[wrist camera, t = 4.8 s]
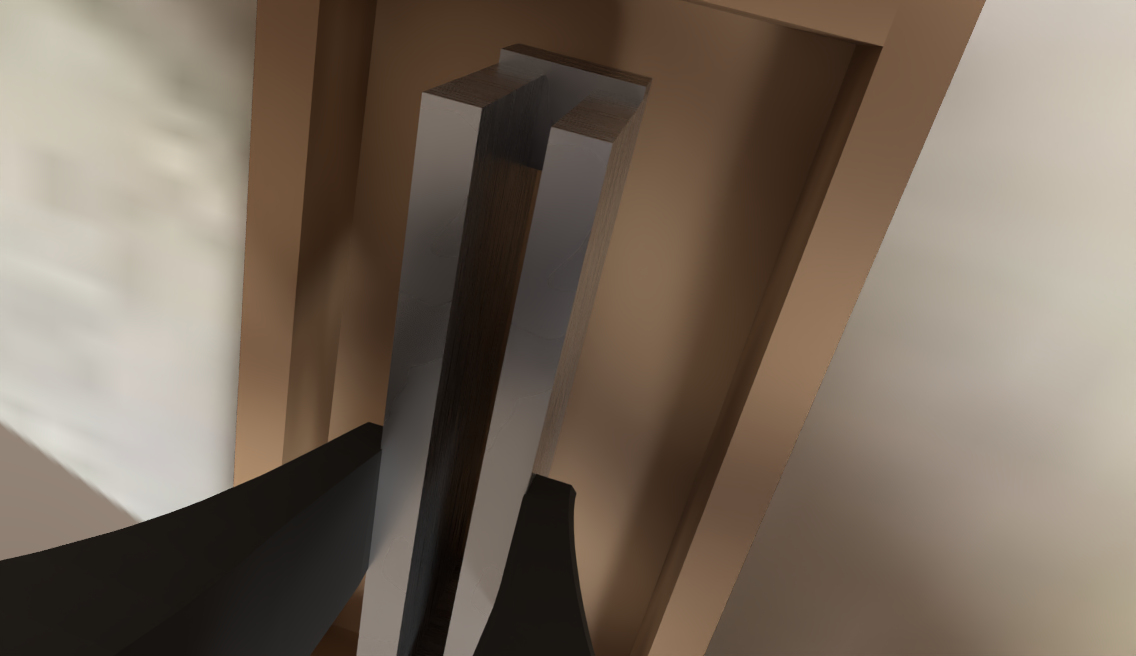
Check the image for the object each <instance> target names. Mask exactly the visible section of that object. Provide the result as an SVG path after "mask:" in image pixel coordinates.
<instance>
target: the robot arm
mask: <svg viewBox="0 0 1136 656" xmlns="http://www.w3.org/2000/svg"><path fill="white" fill-rule="evenodd" d="M382 433H383V426H381V425H378V424H374V423H371V422H367V423H365V424H363V425H361V426H359V427H357V428H355V429H353V430H351V431H349V432H347V433H345V434H343V435H341V436H339V437H337V438H335V439H333V440H331V441H329V442H327V443H325V444H323V445H321V446H319V447H317V448H315V449H313V450H312V451H310V452H308V453H306V454H304V455H302V456H300V457H298V458H296V459H294V460H292V461H289V462H287V463H285V464H283V465H281V466H279V467H277V468H275V469H273V470H271V471H269V472H267V473H265V474H263V475H261V476H258V477H256V478H254V479H251V480H249V481H247V482H244V483H242V484H240V485H237V486H235V487H233V488H231V489H228V490H226V491H224V492H221V493H219V494H217V495H214V496H212V497H210V498H207V499H205V500H203V501H200V502H197V503H195V504H192V505H190V506H187V507H184V508H182V509H179V510H176V511H174V512H171V513H168V514H165V515H162V516H159V517H156V518H153V519H150V520H147V521H145V522H142V523H139V524H136V525H133V526H130V527H126V528H123V529H120V530H117V531H114V532H110V533H106V534H103V535H99V536H96V537H92V538H88V539H84V540H81V541H77V542H74V543H70V544H66V545H62V546H59V547H55V548H52V549H48V550H44V551H40V552H36V553H32V554H28V555H23V556H19V557H15V558H10V559H6V560H1V561H0V656H310V655H311V653H312V652H313V651H314V649H315V648H316V646H317V645H318V643H319V642H320V641H321V639H322V638H323V636H324V635H325V634H326V632H327V631H328V629H329V628H330V626H331V625H332V624H333V622H334V621H335V619H336V618H337V616H338V615H339V614H340V612H341V611H342V609H343V608H344V606H345V605H346V603H347V602H348V601H349V599H350V598H351V596H352V595H353V593H354V592H355V590H356V589H357V587H358V586H359V584H360V583H361V581H362V579H363V577H364V575H365V574H366V572H367V570H368V566H369V558H370V549H371V541H372V533H373V524H374V516H375V507H376V499H377V490H378V482H379V473H380V465H381V456H382V449H381V441H382ZM576 494H577V493H576V491H575V490H574V488H573V486H572V485H570V484H567V483H564V482H561V481H558V480H554V479H551V478H548V477H545V476H542V475H538V474H536V475H535V477H534V479H533V481H532V483H531V485H530V487H529V489H528V491H527V493H526V494H524V496H523V498H522V502H521V506H520V510H519V514H518V518H517V522H516V526H515V529H514V533H513V537H512V541H511V545H510V549H509V553H508V557H507V561H506V564H505V568H504V572H503V576H502V580H501V584H500V587H499V590H498V593H497V597H496V600H495V603H494V606H493V609H492V611H491V613H490V616H489V618H488V620H487V623H486V625H485V628H484V630H483V632H482V635H481V637H480V639H479V642H478V644H477V646H476V649H475V651H474V654H473V656H595V653H594V649H593V645H592V641H591V637H590V633H589V629H588V624H587V619H586V615H585V610H584V605H583V600H582V594H581V589H580V581H579V574H578V567H577V560H576V550H575V537H574V506H575V498H576Z"/></svg>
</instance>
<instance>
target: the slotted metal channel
mask: <svg viewBox="0 0 1136 656" xmlns="http://www.w3.org/2000/svg"><path fill="white" fill-rule="evenodd" d="M652 79H653V78H651V77H647V76H643V75H639V74H635V73H632V72H628V71H624V70H620V69H616V68H612V67H609V66H605V65H601V64H597V63H593V62H589V61H586V60H582V59H578V58H574V57H570V56H567V55H563V54H559V53H555V52H551V51H547V50H544V49H540V48H536V47H532V46H528V45H525V44H521V43H517V44H514V45H511V46H508V47H505V48H502V49H501V52H500V58H499V63H497V64H494V65H492V66H489V67H486V68H484V69H481V70H479V71H476V72H473V73H471V74H468V75H466V76H463V77H460V78H458V79H455V80H452V81H450V82H447V83H445V84H442V85H439V86H437V87H434V88H432V89H429V90H426V91H424V92H422V98H421V106H420V115H419V124H418V132H417V141H416V149H415V158H414V166H413V175H412V184H411V192H410V201H409V209H408V218H407V227H406V235H405V244H404V252H403V261H402V270H401V278H400V287H399V295H398V304H397V313H396V321H395V330H394V338H393V347H392V355H391V364H390V373H389V381H388V390H387V398H386V407H385V416H384V424H383V433H382V441H381V449H382V456H381V465H380V473H379V482H378V490H377V499H376V507H375V516H374V524H373V533H372V541H371V549H370V558H369V566H368V570H367V572H366V579H365V587H364V596H363V605H362V613H361V622H360V630H359V639H358V648H357V656H473V654H474V651H475V649H476V646H477V644H478V642H479V639H480V637H481V635H482V632H483V630H484V628H485V625H486V623H487V620H488V618H489V616H490V613H491V611H492V609H493V606H494V603H495V600H496V597H497V593H498V590H499V587H500V584H501V580H502V576H503V572H504V568H505V564H506V561H507V557H508V553H509V549H510V545H511V541H512V537H513V533H514V529H515V526H516V522H517V518H518V514H519V510H520V506H521V502H522V498H523V496H524V494H526V493H527V491H528V489H529V487H530V485H531V483H532V481H533V479H534V477H535V475H536V474H538V475H542V476H545V477H548V476H549V472H550V468H551V464H552V461H553V457H554V453H555V449H556V445H557V441H558V438H559V434H560V430H561V426H562V422H563V419H564V415H565V411H566V407H567V403H568V399H569V396H570V392H571V388H572V384H573V380H574V377H575V373H576V369H577V365H578V361H579V358H580V354H581V350H582V346H583V342H584V338H585V335H586V331H587V327H588V323H589V319H590V316H591V312H592V308H593V304H594V300H595V297H596V293H597V289H598V285H599V281H600V277H601V274H602V270H603V266H604V262H605V258H606V255H607V251H608V247H609V243H610V239H611V235H612V232H613V228H614V224H615V220H616V216H617V213H618V209H619V205H620V201H621V197H622V194H623V190H624V186H625V182H626V178H627V174H628V171H629V167H630V163H631V159H632V155H633V152H634V148H635V144H636V140H637V136H638V133H639V129H640V125H641V121H642V117H643V113H644V110H645V106H646V102H647V98H648V94H649V91H650V87H651V83H652ZM538 170H541V171H542V174H541V179H540V184H539V189H538V194H537V199H536V204H535V209H534V214H533V219H532V224H531V228H530V233H529V238H528V243H527V248H526V253H525V258H524V263H523V268H522V273H521V277H520V282H519V287H518V292H517V297H516V302H515V307H514V312H513V317H512V322H511V327H510V331H509V336H508V341H507V346H506V351H505V356H504V361H503V366H502V371H501V376H500V380H499V385H498V390H497V395H496V400H495V405H494V410H493V415H492V420H491V425H490V430H489V434H488V439H487V444H486V449H485V454H484V459H483V464H482V469H481V474H480V479H479V483H478V488H477V493H476V498H475V503H474V508H473V513H472V518H471V523H470V528H469V533H468V537H467V542H466V547H465V552H464V557H463V558H461V557H460V554H461V549H462V545H463V540H464V535H465V530H466V525H467V520H468V515H469V510H470V505H471V500H472V495H473V490H474V485H475V480H476V475H477V470H478V465H479V460H480V455H481V450H482V445H483V440H484V435H485V430H486V425H487V420H488V415H489V410H490V405H491V400H492V395H493V390H494V385H495V380H496V375H497V370H498V365H499V360H500V355H501V350H502V345H503V340H504V335H505V330H506V325H507V320H508V315H509V310H510V305H511V300H512V295H513V290H514V285H515V280H516V275H517V270H518V265H519V260H520V255H521V250H522V245H523V240H524V235H525V231H526V226H527V221H528V216H529V211H530V206H531V201H532V196H533V191H534V186H535V181H536V176H537V171H538Z"/></svg>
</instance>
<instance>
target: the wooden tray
mask: <svg viewBox="0 0 1136 656" xmlns="http://www.w3.org/2000/svg"><path fill="white" fill-rule="evenodd" d="M985 1H986V0H257V18H256V38H255V59H254V79H253V99H252V120H251V140H250V160H249V181H248V201H247V222H246V242H245V262H244V283H243V303H242V323H241V344H240V364H239V385H238V405H237V425H236V446H235V466H234V486H233V487H235V486H237V485H240V484H242V483H244V482H247V481H249V480H251V479H254V478H256V477H258V476H261V475H263V474H265V473H267V472H269V471H271V470H273V469H275V468H277V467H279V466H281V465H283V464H285V463H287V462H289V461H292V460H294V459H296V458H298V457H300V456H302V455H304V454H306V453H308V452H310V451H312V450H313V449H315V448H317V447H319V446H321V445H323V444H325V443H327V442H329V441H331V440H333V439H335V438H337V437H339V436H341V435H343V434H345V433H347V432H349V431H351V430H353V429H355V428H357V427H359V426H361V425H363V424H365V423H367V422H371V423H374V424H378V425H381V426H383V424H384V416H385V407H386V398H387V390H388V381H389V373H390V364H391V355H392V347H393V338H394V330H395V321H396V313H397V304H398V295H399V287H400V278H401V270H402V261H403V252H404V244H405V235H406V227H407V218H408V209H409V201H410V192H411V184H412V175H413V166H414V158H415V149H416V141H417V132H418V124H419V115H420V106H421V98H422V92H424V91H426V90H429V89H432V88H434V87H437V86H439V85H442V84H445V83H447V82H450V81H452V80H455V79H458V78H460V77H463V76H466V75H468V74H471V73H473V72H476V71H479V70H481V69H484V68H486V67H489V66H492V65H494V64H497V63H499V58H500V52H501V49H502V48H505V47H508V46H511V45H514V44H517V43H521V44H525V45H528V46H532V47H536V48H540V49H544V50H547V51H551V52H555V53H559V54H563V55H567V56H570V57H574V58H578V59H582V60H586V61H589V62H593V63H597V64H601V65H605V66H609V67H612V68H616V69H620V70H624V71H628V72H632V73H635V74H639V75H643V76H647V77H651V78H653V79H652V83H651V87H650V91H649V94H648V98H647V102H646V106H645V110H644V113H643V117H642V121H641V125H640V129H639V133H638V136H637V140H636V144H635V148H634V152H633V155H632V159H631V163H630V167H629V171H628V174H627V178H626V182H625V186H624V190H623V194H622V197H621V201H620V205H619V209H618V213H617V216H616V220H615V224H614V228H613V232H612V235H611V239H610V243H609V247H608V251H607V255H606V258H605V262H604V266H603V270H602V274H601V277H600V281H599V285H598V289H597V293H596V297H595V300H594V304H593V308H592V312H591V316H590V319H589V323H588V327H587V331H586V335H585V338H584V342H583V346H582V350H581V354H580V358H579V361H578V365H577V369H576V373H575V377H574V380H573V384H572V388H571V392H570V396H569V399H568V403H567V407H566V411H565V415H564V419H563V422H562V426H561V430H560V434H559V438H558V441H557V445H556V449H555V453H554V457H553V461H552V464H551V468H550V472H549V476H548V478H551V479H554V480H558V481H561V482H564V483H567V484H570V485H572V486H573V488H574V490H575V491H576V493H577V494H576V498H575V506H574V537H575V550H576V560H577V567H578V574H579V581H580V589H581V594H582V600H583V605H584V610H585V615H586V619H587V624H588V629H589V633H590V637H591V641H592V645H593V649H594V653H595V656H704V654H705V652H706V650H707V647H708V645H709V643H710V640H711V638H712V636H713V633H714V631H715V629H716V626H717V624H718V622H719V619H720V617H721V615H722V612H723V610H724V608H725V605H726V603H727V601H728V598H729V596H730V594H731V592H732V589H733V587H734V585H735V582H736V580H737V578H738V575H739V573H740V571H741V568H742V566H743V564H744V561H745V559H746V557H747V554H748V552H749V550H750V547H751V545H752V543H753V540H754V538H755V536H756V533H757V531H758V529H759V526H760V524H761V522H762V519H763V517H764V515H765V512H766V510H767V508H768V506H769V503H770V501H771V499H772V496H773V494H774V492H775V489H776V487H777V485H778V482H779V480H780V478H781V475H782V473H783V471H784V468H785V466H786V464H787V461H788V459H789V457H790V454H791V452H792V450H793V447H794V445H795V443H796V440H797V438H798V436H799V433H800V431H801V429H802V426H803V424H804V422H805V420H806V417H807V415H808V413H809V410H810V408H811V406H812V403H813V401H814V399H815V396H816V394H817V392H818V389H819V387H820V385H821V382H822V380H823V378H824V375H825V373H826V371H827V368H828V366H829V364H830V361H831V359H832V357H833V354H834V352H835V350H836V347H837V345H838V343H839V340H840V338H841V336H842V334H843V331H844V329H845V327H846V324H847V322H848V320H849V317H850V315H851V313H852V310H853V308H854V306H855V303H856V301H857V299H858V296H859V294H860V292H861V289H862V287H863V285H864V282H865V280H866V278H867V275H868V273H869V271H870V268H871V266H872V264H873V261H874V259H875V257H876V254H877V252H878V250H879V248H880V245H881V243H882V241H883V238H884V236H885V234H886V231H887V229H888V227H889V224H890V222H891V220H892V217H893V215H894V213H895V210H896V208H897V206H898V203H899V201H900V199H901V196H902V194H903V192H904V189H905V187H906V185H907V182H908V180H909V178H910V175H911V173H912V171H913V168H914V166H915V164H916V162H917V159H918V157H919V155H920V152H921V150H922V148H923V145H924V143H925V141H926V138H927V136H928V134H929V131H930V129H931V127H932V124H933V122H934V120H935V117H936V115H937V113H938V110H939V108H940V106H941V103H942V101H943V99H944V96H945V94H946V92H947V89H948V87H949V85H950V82H951V80H952V78H953V76H954V73H955V71H956V69H957V66H958V64H959V62H960V59H961V57H962V55H963V52H964V50H965V48H966V45H967V43H968V41H969V38H970V36H971V34H972V31H973V29H974V27H975V24H976V22H977V20H978V17H979V15H980V13H981V10H982V8H983V6H984V3H985ZM541 174H542V171H541V170H538V171H537V176H536V181H535V186H534V191H533V196H532V201H531V206H530V211H529V216H528V221H527V226H526V231H525V235H524V240H523V245H522V250H521V255H520V260H519V265H518V270H517V275H516V280H515V285H514V290H513V295H512V300H511V305H510V310H509V315H508V320H507V325H506V330H505V335H504V340H503V345H502V350H501V355H500V360H499V365H498V370H497V375H496V380H495V385H494V390H493V395H492V400H491V405H490V410H489V415H488V420H487V425H486V430H485V435H484V440H483V445H482V450H481V455H480V460H479V465H478V470H477V475H476V480H475V485H474V490H473V495H472V500H471V505H470V510H469V515H468V520H467V525H466V530H465V535H464V540H463V545H462V549H461V554H460V557H461V558H463V557H464V552H465V547H466V542H467V537H468V533H469V528H470V523H471V518H472V513H473V508H474V503H475V498H476V493H477V488H478V483H479V479H480V474H481V469H482V464H483V459H484V454H485V449H486V444H487V439H488V434H489V430H490V425H491V420H492V415H493V410H494V405H495V400H496V395H497V390H498V385H499V380H500V376H501V371H502V366H503V361H504V356H505V351H506V346H507V341H508V336H509V331H510V327H511V322H512V317H513V312H514V307H515V302H516V297H517V292H518V287H519V282H520V277H521V273H522V268H523V263H524V258H525V253H526V248H527V243H528V238H529V233H530V228H531V224H532V219H533V214H534V209H535V204H536V199H537V194H538V189H539V184H540V179H541ZM365 579H366V574H365V575H364V577H363V579H362V581H361V583H360V584H359V586H358V587H357V589H356V590H355V592H354V593H353V595H352V596H351V598H350V599H349V601H348V602H347V603H346V605H345V606H344V608H343V609H342V611H341V612H340V614H339V615H338V616H337V618H336V619H335V621H334V622H333V624H332V625H331V626H330V628H329V629H328V631H327V632H326V634H325V635H324V636H323V638H322V639H321V641H320V642H319V643H318V645H317V646H316V648H315V649H314V651H313V652H312V653H311V655H310V656H357V648H358V639H359V630H360V622H361V613H362V605H363V596H364V587H365Z"/></svg>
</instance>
